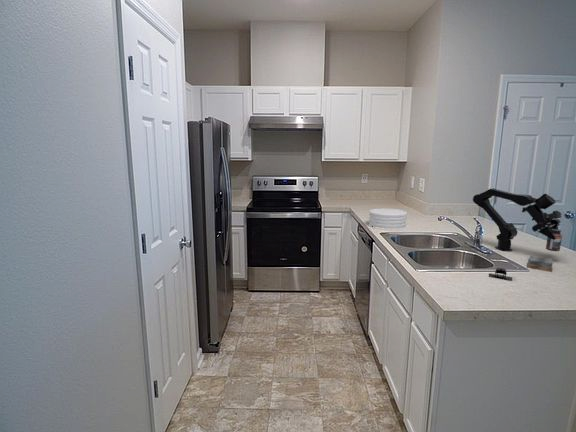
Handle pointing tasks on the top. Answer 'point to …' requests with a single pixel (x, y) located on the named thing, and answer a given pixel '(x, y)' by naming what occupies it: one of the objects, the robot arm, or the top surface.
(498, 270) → the black bar with hump
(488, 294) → the top surface
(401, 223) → the plate stack
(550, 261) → the plate
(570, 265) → the top surface
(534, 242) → the top surface
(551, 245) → the supplement bottle
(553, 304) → the top surface
